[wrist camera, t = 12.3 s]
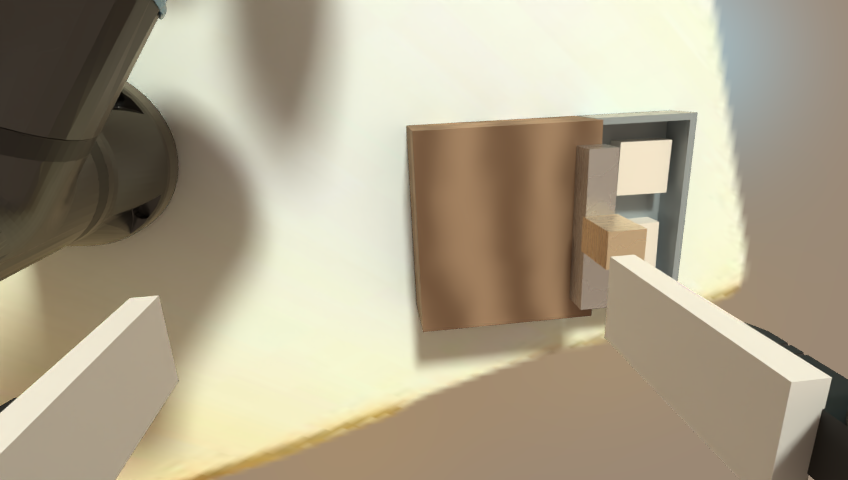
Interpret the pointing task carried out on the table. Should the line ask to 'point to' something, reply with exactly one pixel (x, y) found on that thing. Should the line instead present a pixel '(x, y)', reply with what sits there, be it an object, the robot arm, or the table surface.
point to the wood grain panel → (495, 219)
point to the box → (674, 201)
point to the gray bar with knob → (598, 226)
